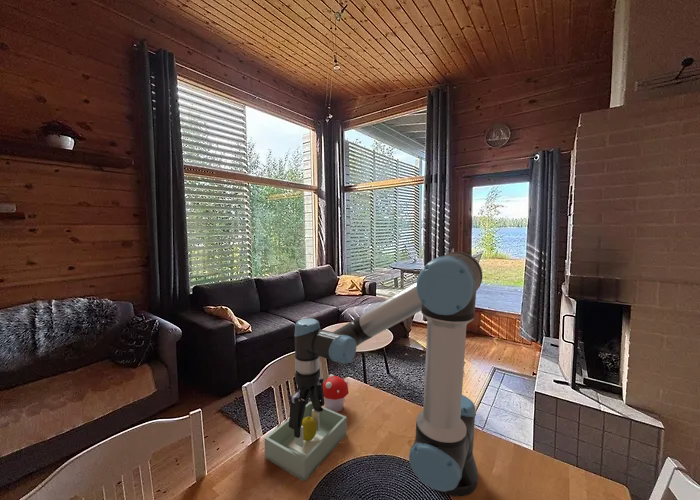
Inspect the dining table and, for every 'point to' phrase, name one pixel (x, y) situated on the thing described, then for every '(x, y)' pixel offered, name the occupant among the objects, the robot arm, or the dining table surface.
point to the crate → (305, 444)
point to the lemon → (309, 428)
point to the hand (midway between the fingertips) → (307, 436)
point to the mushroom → (335, 392)
